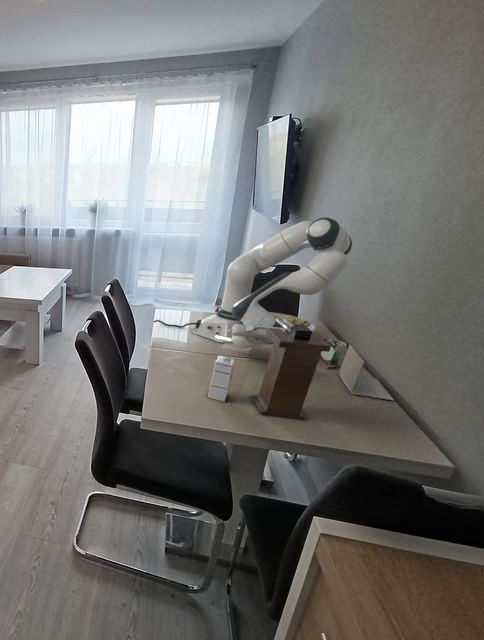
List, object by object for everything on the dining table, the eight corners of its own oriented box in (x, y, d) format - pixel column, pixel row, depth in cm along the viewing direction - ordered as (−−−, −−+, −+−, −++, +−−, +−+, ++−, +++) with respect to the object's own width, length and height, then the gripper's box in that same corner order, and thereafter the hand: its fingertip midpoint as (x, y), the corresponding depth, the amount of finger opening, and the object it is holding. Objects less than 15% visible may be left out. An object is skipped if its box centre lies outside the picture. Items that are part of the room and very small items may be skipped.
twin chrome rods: (273, 320, 144) (275, 312, 143) (287, 321, 144) (289, 313, 142) (293, 339, 128) (296, 330, 127) (309, 340, 127) (312, 331, 126)
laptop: (393, 401, 146) (408, 368, 141) (350, 394, 150) (363, 361, 145) (376, 380, 161) (389, 349, 156) (338, 374, 166) (349, 344, 160)
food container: (345, 371, 168) (354, 349, 164) (329, 370, 169) (337, 347, 165) (331, 359, 179) (338, 337, 175) (315, 357, 180) (322, 336, 176)
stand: (248, 396, 148) (267, 328, 137) (290, 400, 145) (313, 331, 135) (259, 414, 136) (281, 341, 126) (306, 420, 134) (332, 346, 123)
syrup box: (224, 402, 143) (234, 364, 137) (206, 397, 146) (215, 360, 140) (227, 395, 148) (236, 358, 142) (209, 390, 150) (217, 354, 145)
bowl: (244, 317, 229) (248, 303, 226) (308, 326, 217) (312, 312, 214) (245, 334, 204) (249, 319, 201) (317, 346, 193) (322, 330, 189)
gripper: (227, 324, 168) (239, 317, 155) (281, 329, 165) (299, 322, 151) (226, 339, 168) (238, 334, 154) (280, 344, 164) (298, 339, 150)
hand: (268, 328), depth 153 cm, fingers open, 8 cm apart
